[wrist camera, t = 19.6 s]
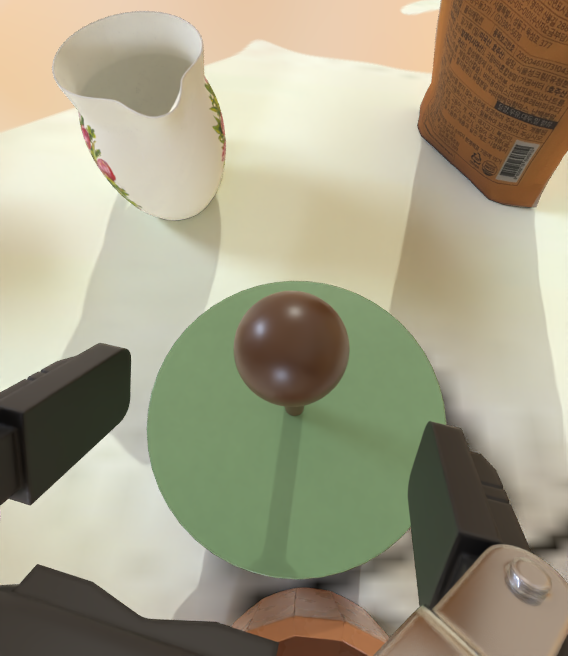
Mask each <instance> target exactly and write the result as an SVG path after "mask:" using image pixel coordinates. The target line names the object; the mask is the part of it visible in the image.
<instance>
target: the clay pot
mask: <svg viewBox="0 0 568 656" xmlns="http://www.w3.org/2000/svg"><path fill="white" fill-rule="evenodd" d="M231 627H233V628H236V629H239V630H242V631H245V632H248V633H251V634H254V635H257V636H261V637H264V638H267V639H270V640H273V641H276V642H279V646H278V651H277V655H276V656H373V655H374V654H375V653H376V652H377V651H378V650H379V649H380V648H381V647H382V646H383V644H384V643H385V642H386V641H387V640H388V639H389V638H390V637H389V636H388V635H387V633H386V632H385V631H384V630H383V629H382V628H381V627H380V626H379V625H378V624H377V622H376V621H375V620H374V619H373V618H372V617H371V616H370V615H369V614H368V613H367V612H366V611H365V610H364V609H363V608H362V607H360V606H358V605H356V604H355V603H353V602H352V601H350V600H348V599H346V598H344V597H343V596H340V595H338V594H335V593H334V592H330V591H327V590H321V589H316V588H293V589H289V590H285V591H281V592H278V593H275V594H273V595H270V596H268V597H265V598H264V599H261V600H260V601H259V602H258V603H256V604H255V605H254V606H253V607H251V608H250V609H249V610H247V611H246V612H245V613H244V614H243V615H242V616H241V617H240V618H238V619H237V620H236V621H235V622H234V623H233V625H232V626H231Z"/></svg>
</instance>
